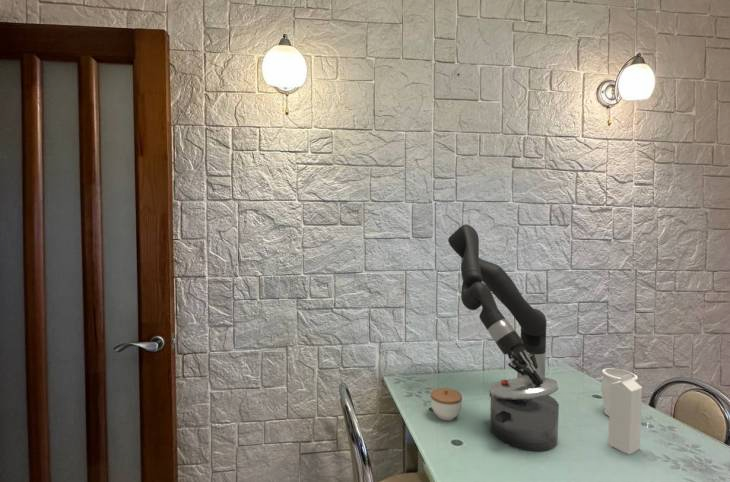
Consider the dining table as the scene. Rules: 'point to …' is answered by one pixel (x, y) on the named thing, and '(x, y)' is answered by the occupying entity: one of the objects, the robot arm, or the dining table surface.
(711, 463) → the dining table surface
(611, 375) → the jar
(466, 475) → the dining table surface
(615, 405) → the milk
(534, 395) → the lid
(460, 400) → the lidded jar
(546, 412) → the cooker pot
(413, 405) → the dining table surface
